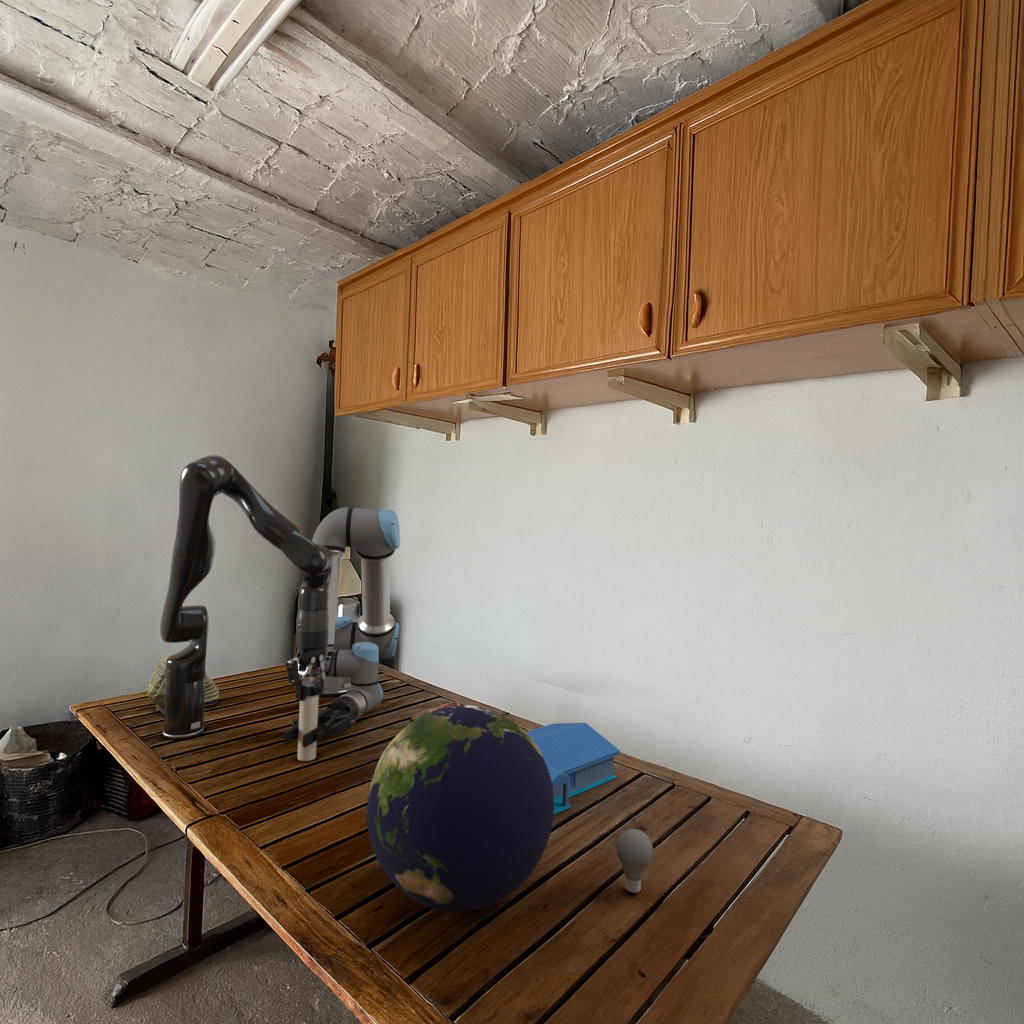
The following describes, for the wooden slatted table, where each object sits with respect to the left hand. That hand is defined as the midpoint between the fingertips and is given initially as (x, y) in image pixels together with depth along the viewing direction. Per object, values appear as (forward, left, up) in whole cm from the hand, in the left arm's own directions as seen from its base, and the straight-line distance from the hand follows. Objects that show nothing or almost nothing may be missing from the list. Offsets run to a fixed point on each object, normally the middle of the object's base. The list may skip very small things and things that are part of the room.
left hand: (309, 697), depth 153 cm
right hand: (+3, -5, -8) cm, 10 cm away
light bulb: (+83, +18, -15) cm, 86 cm away
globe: (+65, -5, -15) cm, 67 cm away
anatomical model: (-3, +41, -15) cm, 43 cm away
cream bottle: (0, 0, -15) cm, 15 cm away
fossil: (-55, -12, -15) cm, 58 cm away
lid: (0, 0, +3) cm, 3 cm away
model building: (+45, +32, -15) cm, 57 cm away
